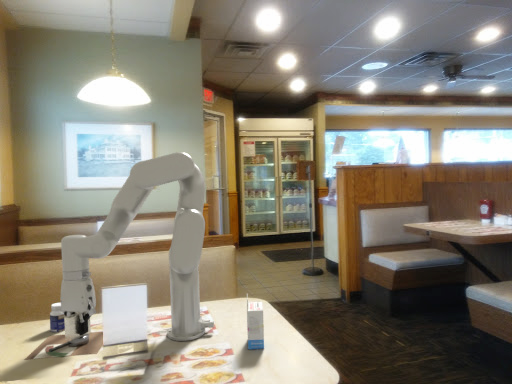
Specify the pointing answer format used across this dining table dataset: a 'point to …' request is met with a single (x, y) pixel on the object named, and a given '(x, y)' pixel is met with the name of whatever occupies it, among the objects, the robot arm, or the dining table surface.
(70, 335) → the white piece
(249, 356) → the dining table surface
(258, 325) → the ink box
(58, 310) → the pill bottle
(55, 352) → the brown flat square slab
